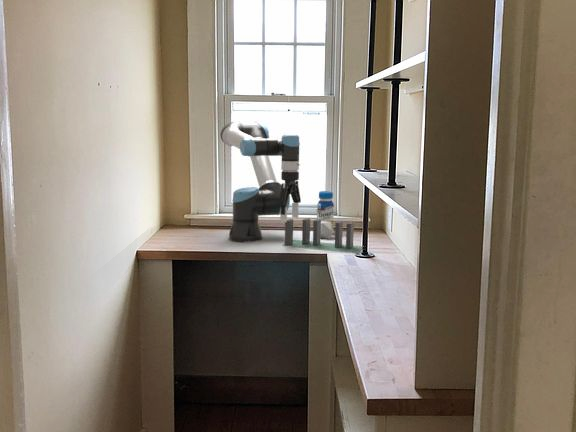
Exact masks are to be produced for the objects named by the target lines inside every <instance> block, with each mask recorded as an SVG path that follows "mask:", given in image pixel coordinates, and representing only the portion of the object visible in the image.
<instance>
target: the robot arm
mask: <svg viewBox="0 0 576 432" xmlns="http://www.w3.org/2000/svg"><path fill="white" fill-rule="evenodd" d="M219 136H220V140H221V141H222V142H223V144H224V145H227V146H229V147H235V148H237V149H239V151H240V154H241V156H243V157H250V161H251V164H252V167H253V171H254V173H255V177H256V180H257V183H258V186H257V187H256V186H250V187H249V186H247V187H241V188H238V189H235V191H233V193H232V223H231V227H230V230H229V234H228V240H229V241H233V242H238V243H246V242H251V243H252V242H257V241H261V240H263V233H262V229H261V226H260V224H259V217H260V216H261V217H262V216H275V215H276V216H279V215H280V219H279V220H280V221H279V222H280V223H285V222H287V220H288V211H289V208H290V202H291V200H292V204H291V205H292V206H291V208H292V209H291V218H299V205H300V203H301V199H302V198H301V194H300V189H299V181H298V180H299V179H300V172H299V170H300V165H301V163H300V145H301V144H300V136H299V135H298V134H283V135H281V137H276V138H270V135H269V129H268V126H267V125H266V124H265V123H263V122H258V121H252V122H249V121H247V122H246V121H245V122H244V121H233V122H229V123H226V124H225V125H224V126H222V128H221V130H220V135H219ZM270 156H271V157H277V156H278V157H281V163H280V164H281V165H280V166H281V167H280V169H281V174H280V175H281V176H280V177H281V178H280V179H281V180H282V181H284V182H282V183H280V182H278V181H277V178H276V174H275V172H274V169H273V165H272V162H271V160H270Z"/></svg>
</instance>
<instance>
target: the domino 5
mask: <svg viewBox="0 0 576 432" xmlns="http://www.w3.org/2000/svg"><path fill="white" fill-rule="evenodd" d="M354 231H355V222H354V221H349V222H347V223H346V231H345V232H346V233H345V234H346V235H345V237H346V239H345V245H346V249H351V248H352V247H353V246H354V235H355V234H354V233H355V232H354Z"/></svg>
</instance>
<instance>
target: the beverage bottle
mask: <svg viewBox="0 0 576 432" xmlns="http://www.w3.org/2000/svg"><path fill="white" fill-rule="evenodd" d="M333 194H334V193H333V191H330V190H323V191H318V202H317V205H316V207H317V209H316V219H321V221H325V222H331V224H332V227H333V228H334V215H335V210H334V208H335V204H334V202H333V198H334V195H333Z"/></svg>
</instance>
